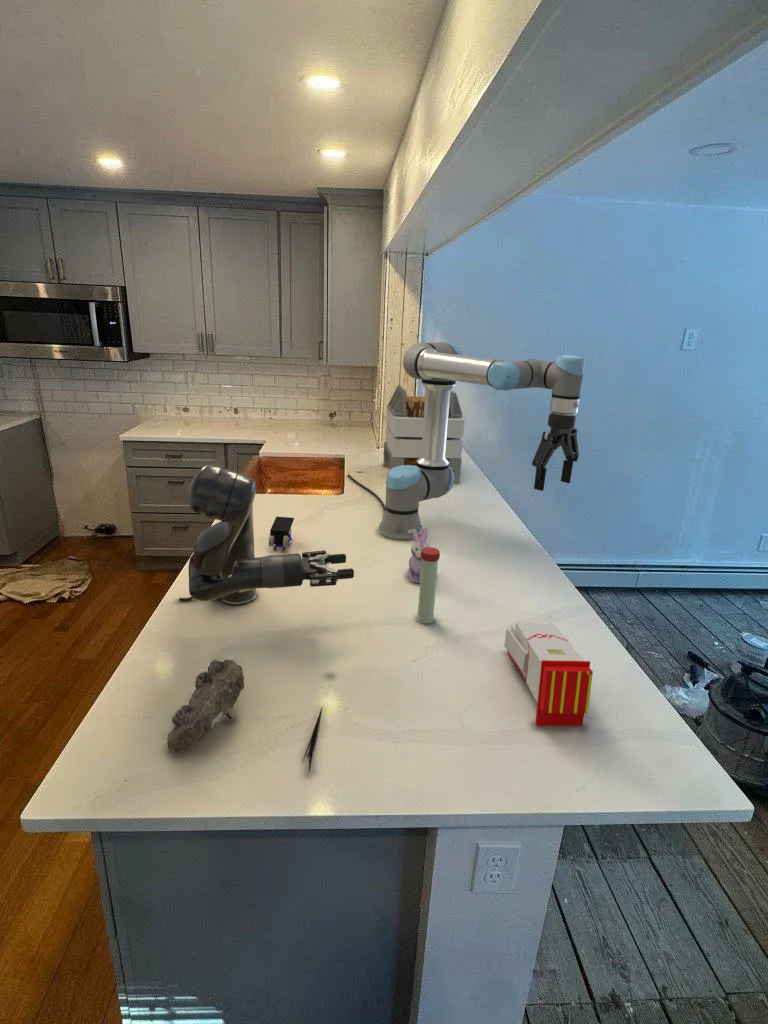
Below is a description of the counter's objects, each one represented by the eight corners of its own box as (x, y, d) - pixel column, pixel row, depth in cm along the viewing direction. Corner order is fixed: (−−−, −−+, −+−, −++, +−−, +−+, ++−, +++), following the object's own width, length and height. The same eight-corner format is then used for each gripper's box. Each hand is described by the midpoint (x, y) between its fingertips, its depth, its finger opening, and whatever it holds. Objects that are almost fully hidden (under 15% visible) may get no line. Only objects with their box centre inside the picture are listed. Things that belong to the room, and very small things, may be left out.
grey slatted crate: (382, 463, 289) (386, 382, 275) (445, 464, 293) (451, 384, 279) (390, 482, 257) (394, 392, 243) (460, 483, 261) (468, 394, 247)
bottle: (433, 616, 147) (438, 549, 141) (433, 624, 144) (438, 556, 137) (417, 614, 148) (422, 548, 141) (417, 622, 144) (422, 555, 137)
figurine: (415, 586, 162) (419, 538, 157) (398, 572, 170) (401, 525, 165) (443, 581, 166) (447, 533, 161) (425, 567, 175) (428, 521, 170)
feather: (331, 679, 122) (336, 673, 122) (307, 777, 96) (313, 769, 95) (324, 675, 122) (329, 669, 121) (298, 772, 95) (304, 764, 95)
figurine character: (289, 557, 180) (295, 534, 194) (288, 536, 177) (294, 515, 190) (268, 557, 180) (275, 534, 193) (266, 536, 177) (274, 514, 190)
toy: (550, 607, 134) (601, 667, 105) (545, 659, 137) (594, 732, 108) (499, 606, 134) (537, 666, 104) (495, 659, 137) (530, 731, 107)
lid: (439, 554, 142) (439, 547, 141) (439, 562, 137) (440, 555, 137) (420, 553, 142) (421, 546, 141) (420, 560, 138) (420, 553, 137)
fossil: (192, 660, 117) (244, 628, 112) (224, 691, 120) (276, 661, 115) (142, 746, 98) (202, 712, 93) (182, 779, 101) (242, 748, 96)
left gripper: (283, 569, 122) (356, 563, 127) (276, 544, 135) (343, 539, 139) (284, 600, 125) (356, 593, 129) (277, 572, 138) (343, 567, 142)
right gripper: (548, 419, 148) (537, 496, 155) (598, 411, 163) (586, 482, 171) (525, 414, 153) (515, 489, 160) (575, 407, 169) (564, 476, 176)
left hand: (349, 565), depth 134 cm, fingers open, 8 cm apart
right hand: (552, 485), depth 166 cm, fingers open, 13 cm apart
